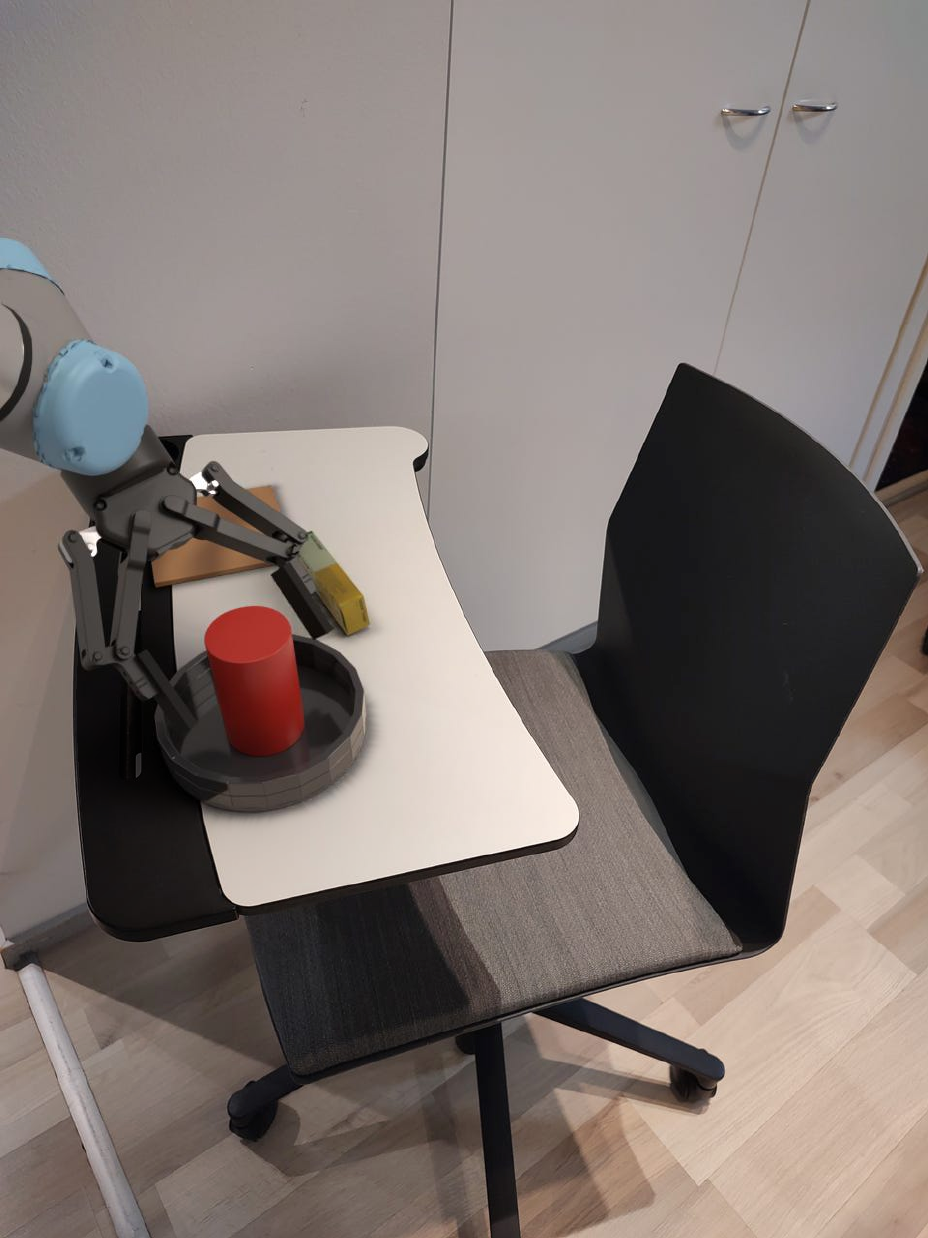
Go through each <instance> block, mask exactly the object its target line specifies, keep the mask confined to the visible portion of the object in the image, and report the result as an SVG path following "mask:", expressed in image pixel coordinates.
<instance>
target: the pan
mask: <svg viewBox="0 0 928 1238" xmlns="http://www.w3.org/2000/svg"><path fill="white" fill-rule="evenodd" d="M292 638H293V645H294V652H295V659H296V665H297V672H298V679H299V686H300V692H301V699H302V706H303V713H304V720H305V725H304V730H303V732H302V734H301V736H300V738H299V739H298V740H297V741H296V742H295V743H294V744H293V745H292V746H291V747H289V748H288V749H286V750H284V751H282V752H280V753H277V754H274V755H269V756H251V755H247V754H244V753H241V752H239V751H238V750H236V749H235V748H234V747H233V746H232V745H231V744H230V743H229V741H228V739H227V735H226V731H225V727H224V723H223V719H222V715H221V710H220V706H219V702H218V698H217V694H216V689H215V685H214V681H213V677H212V673H211V668H210V664H209V660H208V656H207V652H206V650H204V651H202V652H200V653H199V654H197V655H196V656H195V657H194V658H192V659H191V660H189V661H188V662H187V663H185V664H184V665H183V666H181V667H180V668H179V669H178V670H177V671H176V672H175V674H174V675H173V676H172V678H171V679H170V680H169V682H170V683H171V685H172V686H173V688H174V689H175V691H176V692H177V694H178V695H179V696H180V698H181V699H182V701H183V702H184V704H185V705H186V707H187V708H188V709H189V711H190V712H191V714H192V715H193V717H194V718H195V720H196V721H197V722H198V723H197V724H196V725H195V726H193V727H192V728H190V729H188V730H186V731H183V732H181V733H178V732H177V730H176V729H175V727H174V726H173V725H172V723H171V722H170V720H169V719H168V717H167V716H166V715H165V713H164V712H163V710H162V709H161V707H160V706H159V704H158V703H157V706H156V709H155V713H154V722H155V723H154V724H155V730H156V731H155V732H156V738H157V742H158V744H159V747H160V751H161V755H162V757H163V761H164V764H165V765H166V766H167V769H168V770H169V772H170V774H171V776H172V777H173V779H174V781H175V782H176V783H177V784H178V785H179V786H180V787H181V788H182V789H183V790H184V791H185V792H186V793H188V794H189V795H190V796H191V797H193V798H194V799H196V800H198V801H200V802H202V803H203V804H207V805H209V806H212V807H215V808H219V809H223V810H227V811H234V812H242V813H257V812H268V811H274V810H275V811H276V810H279V809H284V808H288V807H291V806H294V805H296V804H300V803H302V802H304V801H305V802H306V801H307V800H309V799H312V798H314V797H315V796H317V795H319V794H321V793H322V792H323V791H325V790H327V789H329V787H331V786H332V785H334V784H335V783H337V781H338V780H339V779H341V778H342V776H343V775H344V774H345V773H346V772H347V771H348V770H349V769H350V767H352V765H353V763H354V762H355V760H356V759H357V757H358V756H359V753H360V751H361V748H362V746H363V744H364V739H365V736H366V718H367V711H366V710H367V709H366V699H365V689H364V687H363V683H362V681H361V678H360V676H359V673H358V671H357V668H356V667H355V666H354V665H353V664H352V663H351V662H350V660H349V659H348V658H347V657H345V655H344V654H343V653H342V652H341V651H339V650H337V649H336V648H333V647H332V646H330V645H328V644H326V643H324V642H322V641H320V640H319V639H315V640H313V639H312V637H306V636H302V635H297V634H294V633H292Z"/></svg>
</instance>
